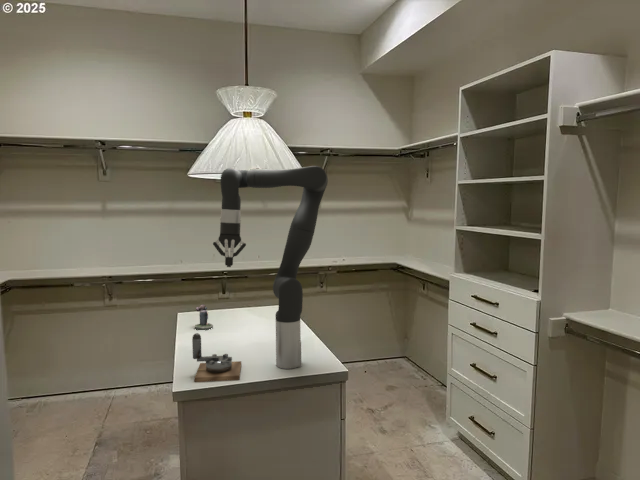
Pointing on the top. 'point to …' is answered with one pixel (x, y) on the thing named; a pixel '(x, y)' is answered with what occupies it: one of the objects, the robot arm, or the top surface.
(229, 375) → the walnut cap plate
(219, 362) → the grey bent piece
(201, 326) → the figurine
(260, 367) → the top surface
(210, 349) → the top surface
